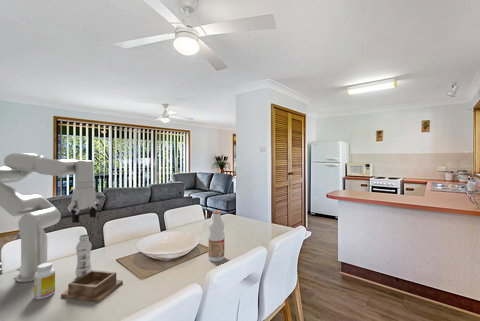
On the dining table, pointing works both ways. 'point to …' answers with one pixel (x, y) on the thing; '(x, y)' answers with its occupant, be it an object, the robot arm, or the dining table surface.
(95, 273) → the walnut caddy
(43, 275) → the supplement bottle
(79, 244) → the plastic bottle
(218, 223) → the fruit juice
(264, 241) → the dining table surface
